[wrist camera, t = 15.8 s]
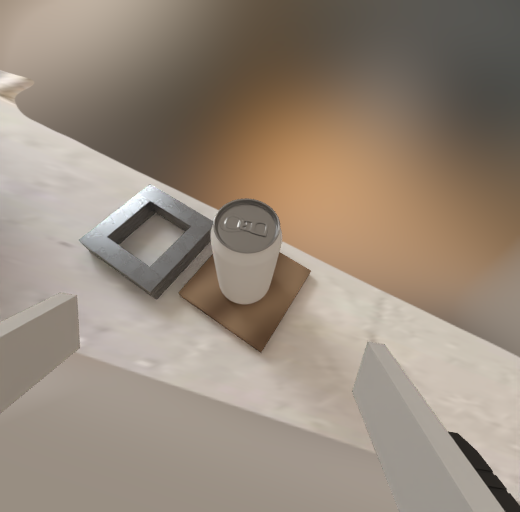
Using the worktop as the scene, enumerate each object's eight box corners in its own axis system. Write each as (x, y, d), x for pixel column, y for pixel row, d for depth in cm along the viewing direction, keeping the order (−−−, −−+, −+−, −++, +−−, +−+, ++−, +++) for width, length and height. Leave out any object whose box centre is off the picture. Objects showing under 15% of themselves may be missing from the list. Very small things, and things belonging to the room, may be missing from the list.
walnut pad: (180, 295, 31) (178, 292, 30) (236, 231, 36) (236, 227, 35) (260, 352, 28) (261, 351, 27) (309, 274, 33) (311, 270, 32)
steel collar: (89, 250, 33) (78, 240, 31) (155, 195, 38) (150, 183, 36) (156, 299, 30) (149, 292, 28) (217, 233, 35) (215, 223, 33)
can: (226, 254, 33) (219, 188, 22) (273, 263, 33) (289, 202, 22) (212, 299, 30) (197, 248, 19) (265, 310, 29) (279, 264, 19)
